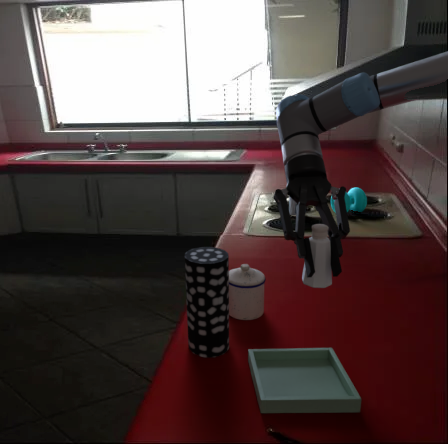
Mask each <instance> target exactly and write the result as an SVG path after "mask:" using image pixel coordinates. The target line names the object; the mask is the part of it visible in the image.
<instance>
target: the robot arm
mask: <svg viewBox="0 0 448 444" xmlns="http://www.w3.org/2000/svg"><path fill="white" fill-rule="evenodd" d="M447 79H448V50H447V51H445V52H441V53H438V54H434V55H432V56H428V57H426V58H423V59H419V60H416V61H414V62H410V63H406V64H404V65H401V66H400V65H399V66H397V67H395V68H391V69H388V70H385V71H382V72H379V73H376V74H372V75H370V74H368V73H367V72H365V71H363V72H360V73H357V74H356V75H355V74H354V75H353V76H350V77H347V78H345V79H344V80H342V81H341V82H339V83H337V84H335V85H334V86H331V87H329V88H328V89H326V90H324V91H322V92H320V93H319V94H316V95H314V96H312V97H309V96H307V95H305V94H301V93H296V94H294V95H288V96H286V97H284V98H283V99H281V100H280V102H279V103H278V104H277V106H276V110H275V116H276V128H277V132H278V135H279V142H280V149H281V155H282V162H283V167H284V174H285V175H284V176H285V181H286V186H285V188H282V189H280V188H277V189H275V190H274V194H273V200H274V202H275V204H276V205H277V208H278V212H279V217H280V222H281V226H282V227H281V228H282V233H283V237H284V240H285V241H293V243H294V245H295V246H296V252H297V257H298V259H303V261H304V262H305V268H306V274H307V277H312V276H313V274H314V273H315V268H314V263H313V257H312V251H311V246H310V240H309V238H310V237H305V231H306V230H305V228H306V214H305V211H306V212H307V207H309V206H310V207H314V208H315V211H316V212H317V213H318V215H319V217H320V219H321V222H322V224H324V225H327V226H328V227H329V228H328V235H327V237H328V238H329V240H330V247H331V270H332V278H333V277H334V278H337V277H339V275H340V274H341V273H342V272H343V269H342V265H341V264H342V263H341V260H340V258H341V257H342V256H343V255H344V249H343V244H342V240H344V239H346V238H347V236H348V235H349V234H350V233H351V228H350V227H351V226H350V222H349V215H348V212H347V209H346V204H345V198H344V197H345V193H346V192H347V188H346V187H345V186H343V185H342V186H340V187H337V186H332V184H331V182H330V181H329V180H328V176H327V175H328V174H327V170H326V169H327V168H326V165H325V161H324V157H323V156H324V154H323V151H322V147H321V142H320V138H319V135H321V134H323V133H326V132H328V131H330V130H332V129H334V128H336V127H339V126H341V125H344V124H346V123H348V122H351V121H353V120H355V119H358V118H360V117H363V116H365V115H367V114H370V113H374V112H377V111H378V112H379V111H381V110H384V109H388V108H392V107H395V106H399V105H404V104H408V103H411V102H415V101H418V100H419V99H414V100H407V99H404V98H406V97H404V96H405V94H406V93H407V92H409V91H411V90H415V89H419V88H424V87H429V86H434V85H437V84H440V83H442V82H445V81H446V80H447ZM329 194H330V195H331V196H332V199H333V200H335V201H334V206H335V212H334V213H335V218H336V219H335V218H334V216H333V213H332V211H331V209H330V206H329V204H328V202H329V201H328V198H327V197H328V195H329ZM288 196H290V197H291V198H292V199H293V200H294V201H295V202H296V217H295V231H294V227H293V222H292V218H291V217H292V216H290V212H289V202H288Z"/></svg>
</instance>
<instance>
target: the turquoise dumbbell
mask: <svg viewBox="0 0 448 444" xmlns="http://www.w3.org/2000/svg"><path fill="white" fill-rule="evenodd" d="M344 198H345V204H346V209H347V213H348V212H350V211H351V210H353V211H358V212H361V213H362V212H364V211H365V210H366V207H367V204H368V197H367V194H366V192H365V191H364V190H363V189H362V188H361V187H351V188H350V189H349V190H348V192H347V191H346V193H345V197H344ZM334 201H335V200H333V199H332V195H331V197H330V206H331V209H332V211H333V212H334V213H335V206H334Z"/></svg>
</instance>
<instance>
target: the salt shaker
mask: <svg viewBox="0 0 448 444" xmlns="http://www.w3.org/2000/svg"><path fill="white" fill-rule="evenodd" d="M328 228H329V227H328V226H327V225H324V224H323V223H315V224H312V225H311V237H308V238H309V240H310V246H311V251H312V257H313V263H314V268H315V273H314V274H313V276H312V277H307V274H306V268H305V262H304V264H303V268H302V274H301V280H302V283H303V285H305V286H308V287H311V288H313V289H325V288H328V287H329V286H332V285H333V274H332V269H331V247H330V240H329V237H328Z"/></svg>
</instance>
